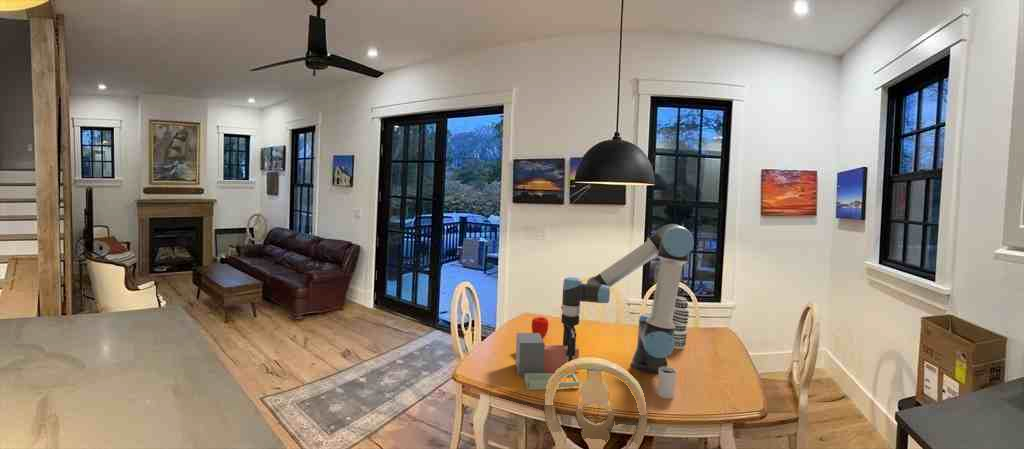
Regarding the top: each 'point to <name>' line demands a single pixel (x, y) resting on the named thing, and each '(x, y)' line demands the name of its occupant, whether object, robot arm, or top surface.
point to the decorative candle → (680, 322)
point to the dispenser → (529, 353)
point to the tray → (545, 380)
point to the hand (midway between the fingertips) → (567, 367)
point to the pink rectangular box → (556, 357)
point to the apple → (540, 326)
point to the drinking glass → (666, 382)
